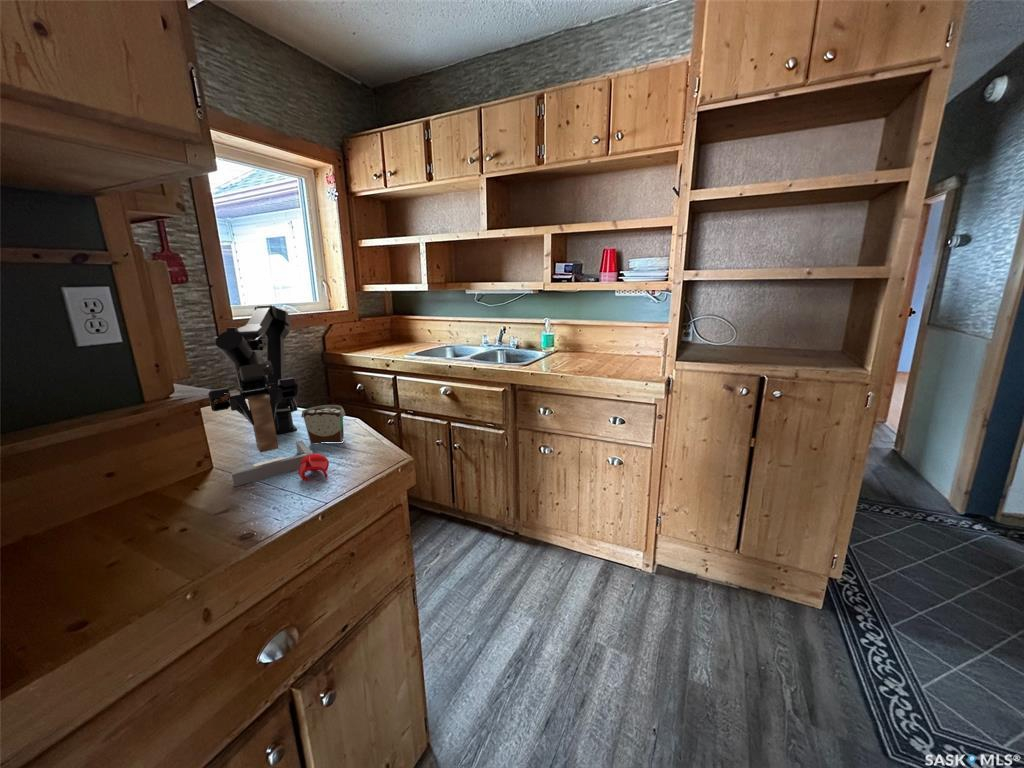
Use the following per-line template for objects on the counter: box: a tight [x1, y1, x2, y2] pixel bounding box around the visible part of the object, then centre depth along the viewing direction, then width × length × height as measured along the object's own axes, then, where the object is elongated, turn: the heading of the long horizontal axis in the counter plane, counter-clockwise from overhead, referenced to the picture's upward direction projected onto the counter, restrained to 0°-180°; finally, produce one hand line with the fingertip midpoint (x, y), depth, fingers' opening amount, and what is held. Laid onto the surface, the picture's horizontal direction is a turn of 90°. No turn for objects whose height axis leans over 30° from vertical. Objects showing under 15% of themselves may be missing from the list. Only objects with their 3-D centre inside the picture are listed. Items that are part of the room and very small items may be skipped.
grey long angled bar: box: [230, 440, 314, 488], centre depth 103 cm, size 12×17×3 cm
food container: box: [301, 404, 346, 444], centre depth 119 cm, size 12×6×10 cm, turn 84°
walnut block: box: [247, 394, 280, 454], centre depth 101 cm, size 4×5×13 cm
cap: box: [297, 453, 330, 482], centre depth 96 cm, size 8×6×6 cm
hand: (263, 421), depth 100 cm, fingers closed on walnut block, 4 cm apart
